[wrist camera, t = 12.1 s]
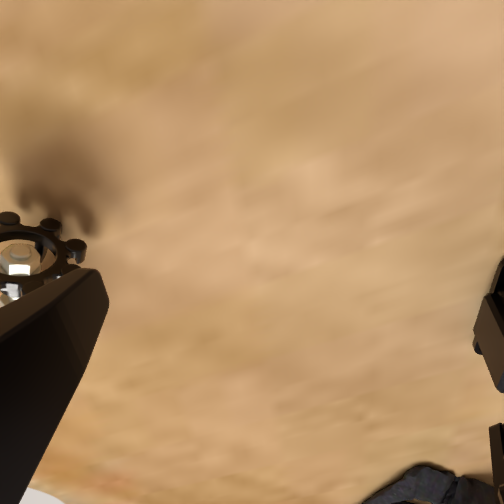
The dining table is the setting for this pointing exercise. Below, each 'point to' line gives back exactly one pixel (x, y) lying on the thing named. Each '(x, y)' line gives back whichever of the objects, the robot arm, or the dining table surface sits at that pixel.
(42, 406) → the robot arm
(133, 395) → the dining table surface
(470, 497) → the dark slate chunk
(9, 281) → the valve
